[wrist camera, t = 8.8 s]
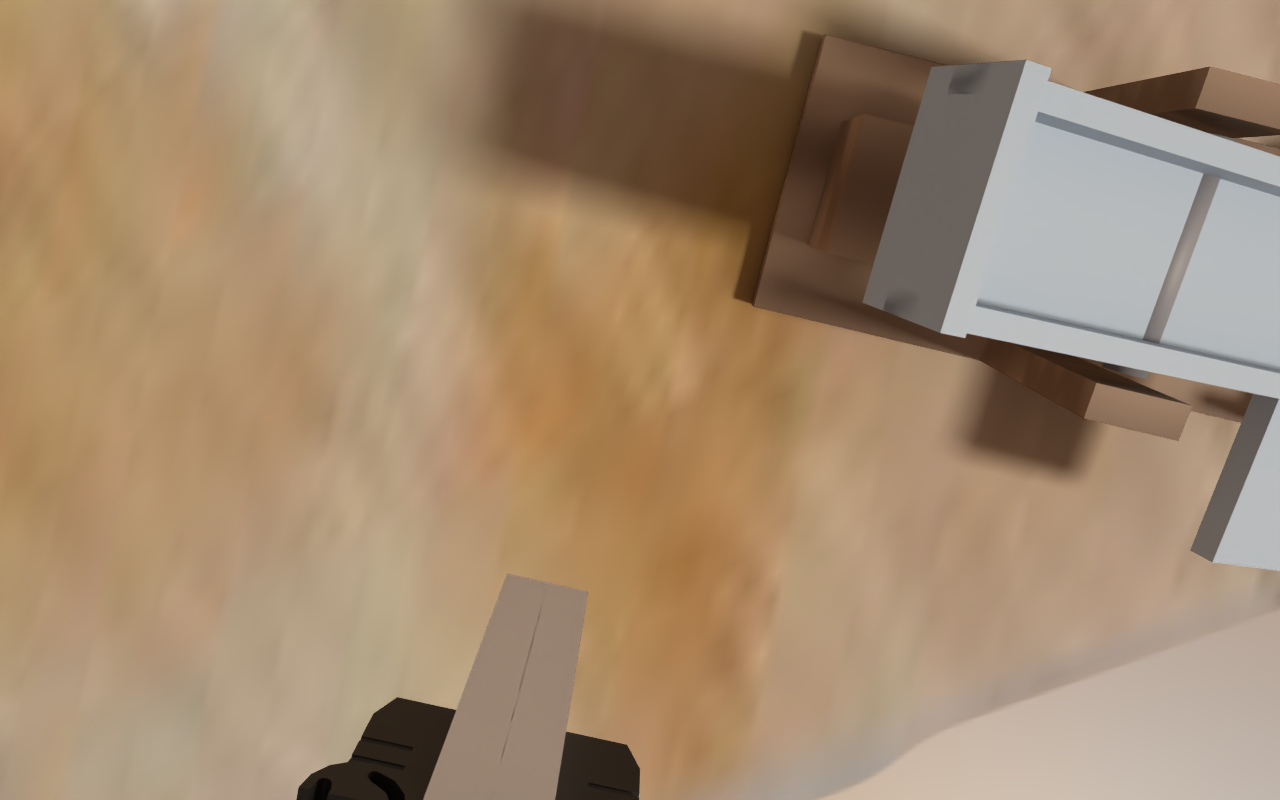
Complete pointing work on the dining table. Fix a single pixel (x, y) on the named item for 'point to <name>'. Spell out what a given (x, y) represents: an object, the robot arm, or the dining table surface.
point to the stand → (863, 192)
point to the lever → (1099, 255)
